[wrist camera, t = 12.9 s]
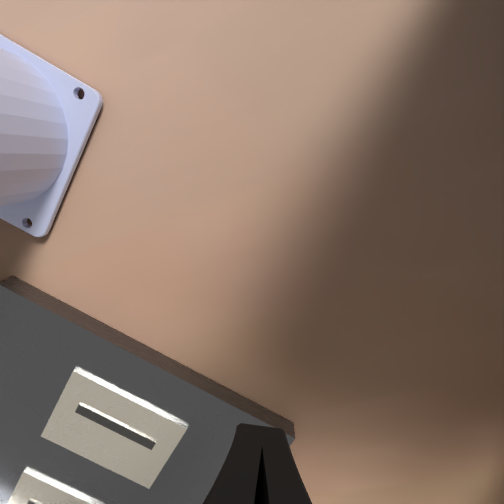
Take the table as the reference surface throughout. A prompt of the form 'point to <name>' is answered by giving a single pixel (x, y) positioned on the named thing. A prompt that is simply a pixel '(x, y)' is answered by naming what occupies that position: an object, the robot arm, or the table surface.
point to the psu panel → (105, 412)
